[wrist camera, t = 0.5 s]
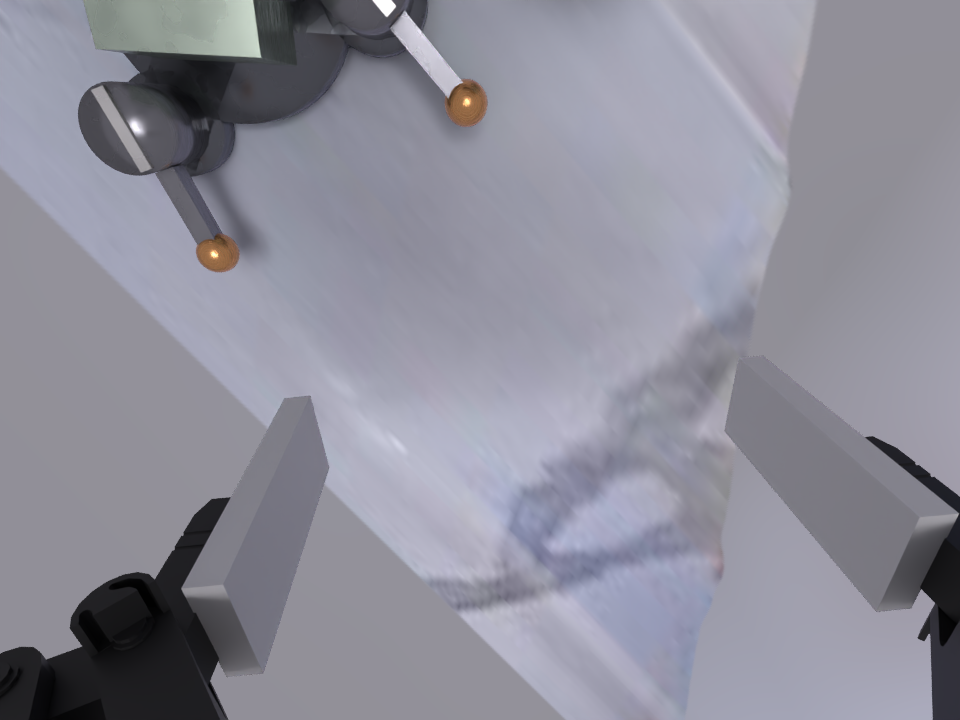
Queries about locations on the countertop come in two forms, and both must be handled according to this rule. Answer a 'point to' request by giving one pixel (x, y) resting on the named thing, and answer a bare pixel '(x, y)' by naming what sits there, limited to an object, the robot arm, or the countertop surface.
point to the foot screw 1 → (157, 151)
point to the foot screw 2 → (413, 51)
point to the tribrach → (235, 55)
